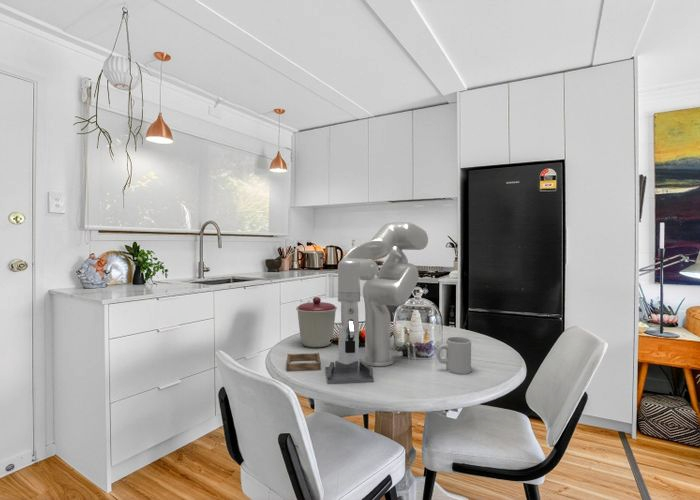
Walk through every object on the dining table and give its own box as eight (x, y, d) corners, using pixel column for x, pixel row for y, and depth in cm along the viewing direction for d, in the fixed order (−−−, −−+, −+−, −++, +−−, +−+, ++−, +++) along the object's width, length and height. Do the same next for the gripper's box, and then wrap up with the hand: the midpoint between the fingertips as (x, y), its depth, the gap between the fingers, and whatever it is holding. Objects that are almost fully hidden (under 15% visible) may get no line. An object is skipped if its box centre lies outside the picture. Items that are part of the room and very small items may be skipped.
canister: (296, 339, 177) (296, 294, 176) (335, 338, 178) (335, 293, 178) (295, 351, 159) (295, 300, 158) (338, 350, 161) (338, 300, 160)
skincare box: (349, 358, 133) (349, 323, 132) (359, 360, 130) (359, 325, 129) (337, 362, 128) (337, 326, 128) (347, 365, 125) (347, 328, 125)
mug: (465, 366, 141) (466, 336, 140) (474, 374, 132) (475, 342, 132) (433, 366, 140) (434, 337, 140) (440, 375, 131) (441, 343, 131)
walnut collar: (319, 359, 148) (319, 353, 148) (320, 370, 136) (320, 363, 136) (287, 360, 146) (287, 354, 146) (286, 371, 134) (286, 364, 134)
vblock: (366, 368, 138) (367, 358, 137) (373, 382, 125) (373, 371, 125) (324, 370, 136) (324, 360, 135) (327, 384, 123) (327, 373, 123)
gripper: (364, 300, 120) (363, 356, 121) (356, 293, 137) (355, 342, 138) (340, 301, 119) (340, 357, 120) (335, 293, 136) (335, 342, 137)
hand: (348, 349), depth 129 cm, fingers closed on skincare box, 7 cm apart
